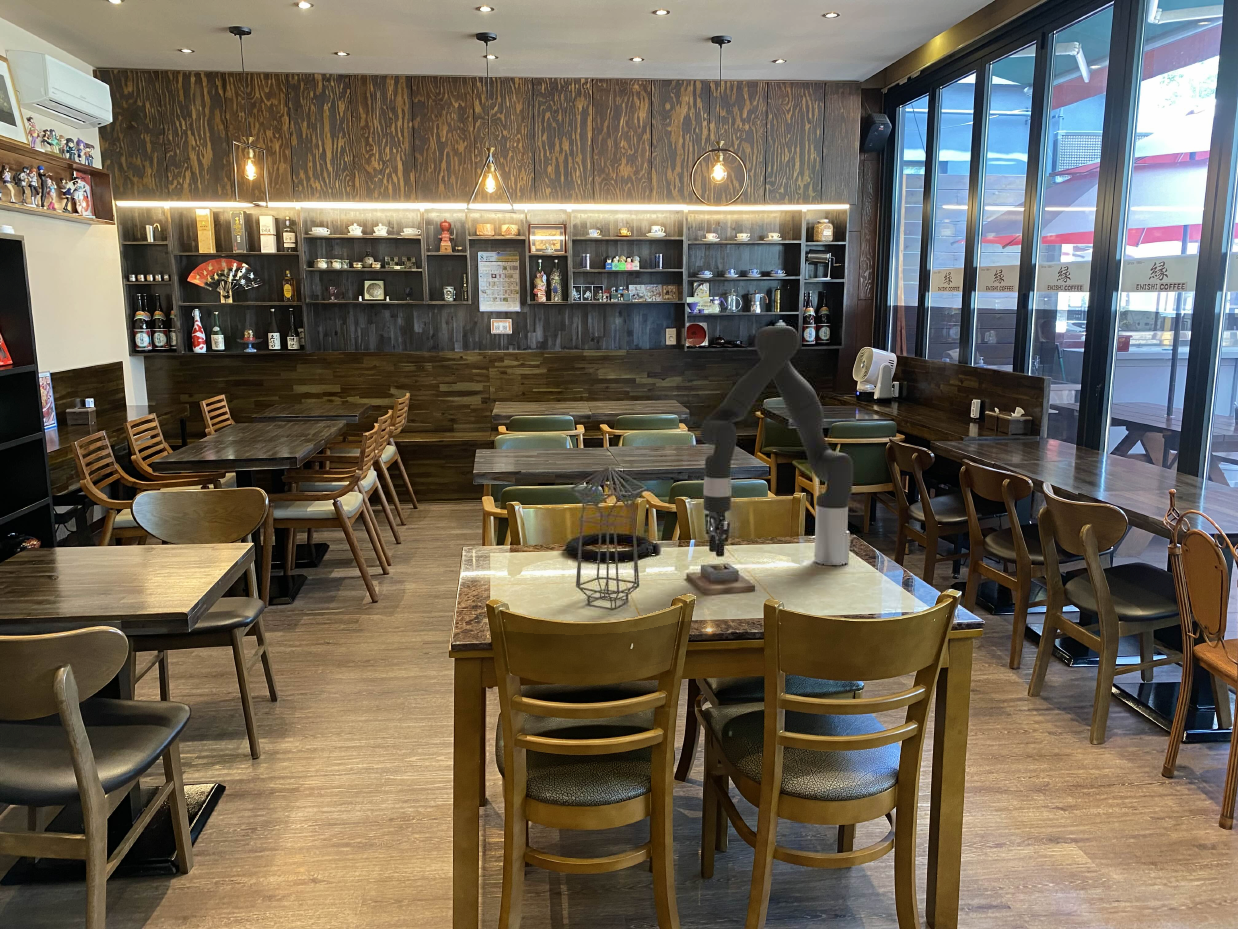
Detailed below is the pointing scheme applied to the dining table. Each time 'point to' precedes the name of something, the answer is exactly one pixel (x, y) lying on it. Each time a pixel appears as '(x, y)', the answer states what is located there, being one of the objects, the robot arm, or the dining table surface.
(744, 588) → the keeper block
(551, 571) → the dining table surface
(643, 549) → the black studded ring
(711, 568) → the grey square frame
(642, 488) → the geometric lantern
